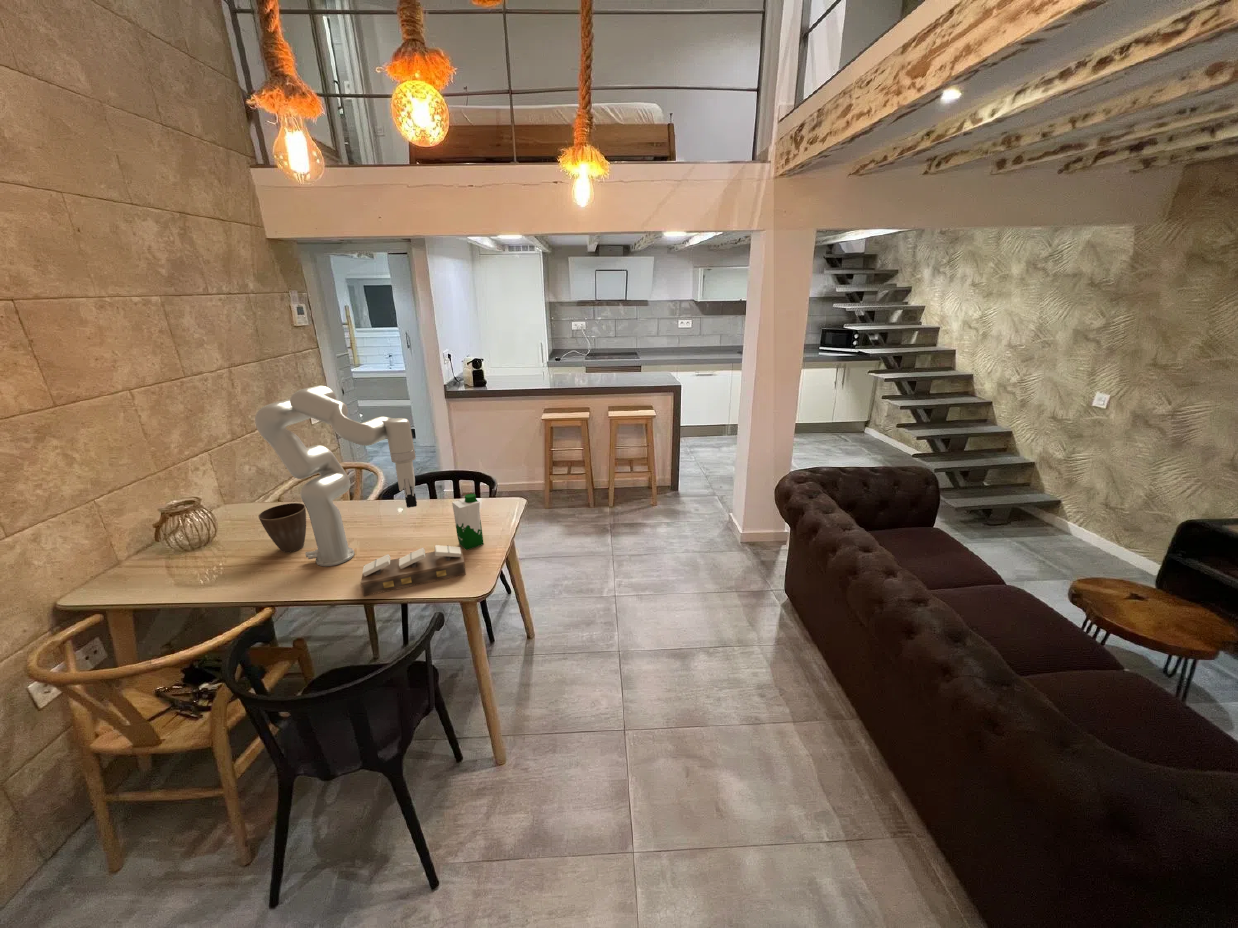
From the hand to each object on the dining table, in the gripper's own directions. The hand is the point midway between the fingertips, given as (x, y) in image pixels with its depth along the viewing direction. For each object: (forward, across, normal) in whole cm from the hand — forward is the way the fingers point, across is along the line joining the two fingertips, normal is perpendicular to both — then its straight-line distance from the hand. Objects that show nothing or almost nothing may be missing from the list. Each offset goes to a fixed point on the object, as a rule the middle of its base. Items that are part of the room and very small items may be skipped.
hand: (411, 505), depth 167 cm
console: (+23, +8, -2) cm, 25 cm away
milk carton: (+23, -8, +18) cm, 31 cm away
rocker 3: (+17, +8, +9) cm, 21 cm away
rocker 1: (+17, +8, -13) cm, 23 cm away
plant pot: (+23, -34, -47) cm, 63 cm away
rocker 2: (+17, +8, -2) cm, 19 cm away
